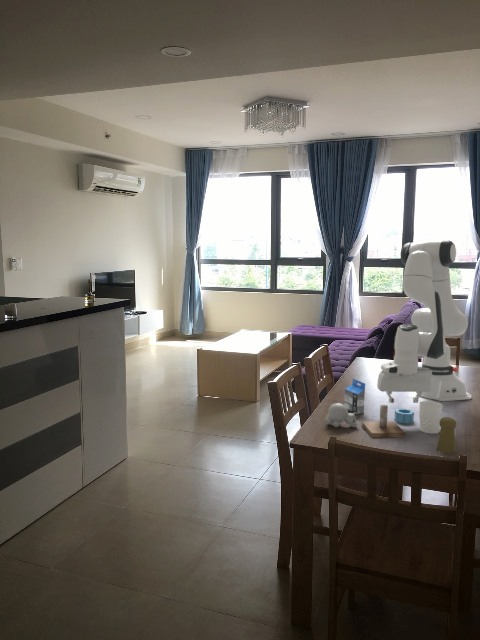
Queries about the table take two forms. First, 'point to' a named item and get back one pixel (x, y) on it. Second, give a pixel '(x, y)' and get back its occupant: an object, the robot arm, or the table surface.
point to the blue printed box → (355, 397)
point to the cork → (447, 436)
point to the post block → (383, 426)
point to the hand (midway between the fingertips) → (403, 402)
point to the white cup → (430, 416)
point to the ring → (404, 415)
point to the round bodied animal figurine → (340, 415)
